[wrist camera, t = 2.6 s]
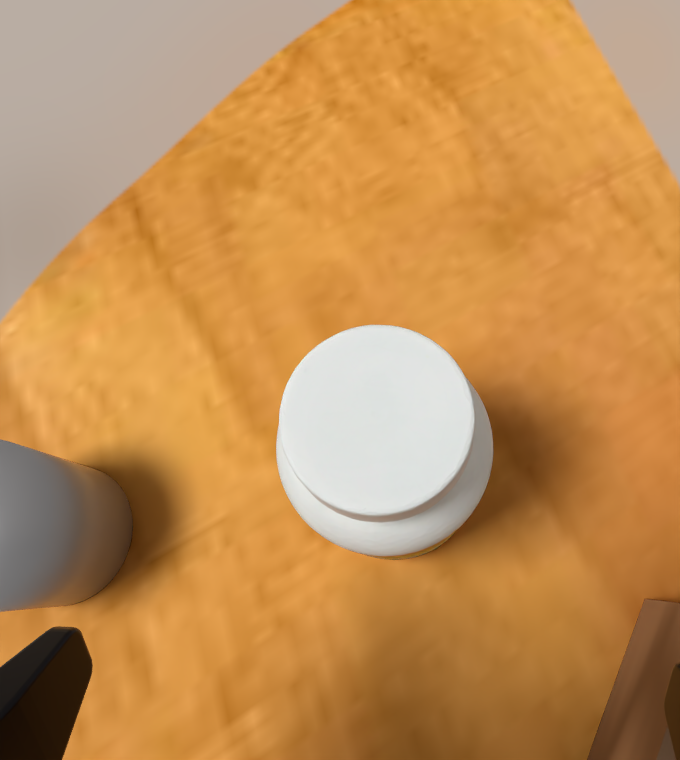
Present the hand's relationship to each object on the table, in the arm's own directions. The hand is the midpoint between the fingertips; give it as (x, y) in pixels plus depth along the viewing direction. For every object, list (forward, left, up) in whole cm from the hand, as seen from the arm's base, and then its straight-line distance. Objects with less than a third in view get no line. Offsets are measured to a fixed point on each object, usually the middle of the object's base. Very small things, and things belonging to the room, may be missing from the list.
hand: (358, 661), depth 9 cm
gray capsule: (-7, +10, -11) cm, 17 cm away
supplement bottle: (+3, +3, -11) cm, 12 cm away
